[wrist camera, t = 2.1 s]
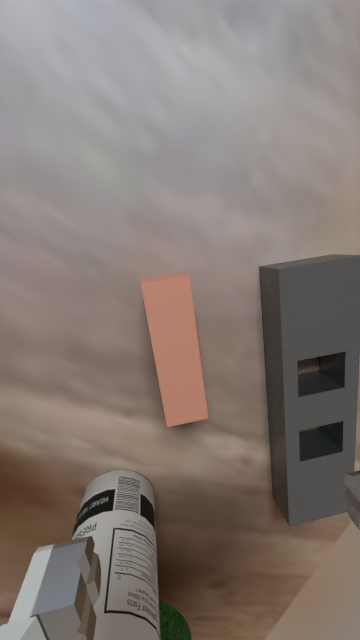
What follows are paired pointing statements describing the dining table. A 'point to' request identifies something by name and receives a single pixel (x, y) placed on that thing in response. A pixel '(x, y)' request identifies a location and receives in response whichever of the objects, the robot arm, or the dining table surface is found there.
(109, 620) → the supplement can
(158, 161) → the dining table surface
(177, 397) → the pink notched block
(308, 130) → the dining table surface
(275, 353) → the rail
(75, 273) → the dining table surface
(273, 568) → the dining table surface
